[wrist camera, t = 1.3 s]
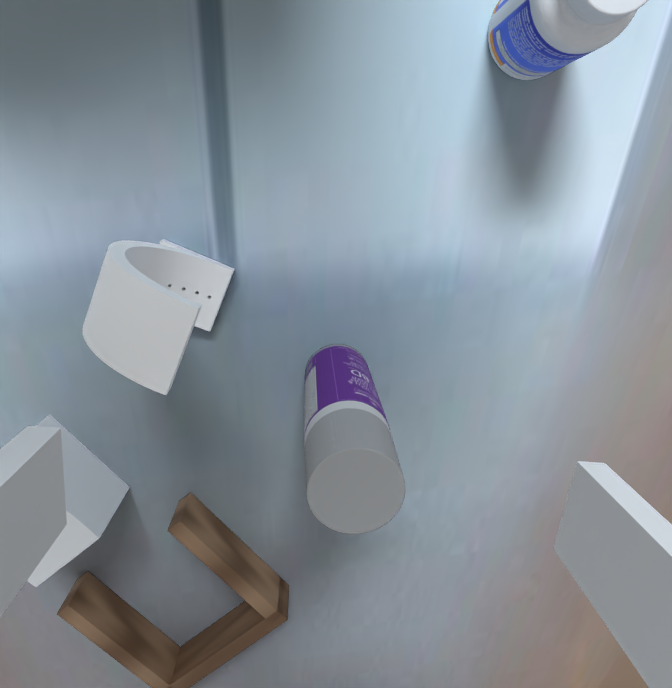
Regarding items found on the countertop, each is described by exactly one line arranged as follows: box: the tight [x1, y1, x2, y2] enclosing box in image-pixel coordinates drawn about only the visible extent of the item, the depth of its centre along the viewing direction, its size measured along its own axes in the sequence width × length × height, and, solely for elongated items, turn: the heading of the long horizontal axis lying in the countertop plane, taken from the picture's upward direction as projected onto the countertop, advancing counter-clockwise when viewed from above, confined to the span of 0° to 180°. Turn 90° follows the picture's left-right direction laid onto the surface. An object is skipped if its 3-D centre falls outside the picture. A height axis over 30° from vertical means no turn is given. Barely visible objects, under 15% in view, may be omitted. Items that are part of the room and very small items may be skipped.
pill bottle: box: [488, 0, 648, 80], centre depth 26 cm, size 5×5×10 cm
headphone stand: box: [82, 239, 235, 395], centre depth 28 cm, size 5×6×12 cm
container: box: [304, 344, 405, 534], centre depth 29 cm, size 5×5×15 cm
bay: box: [57, 493, 289, 688], centre depth 39 cm, size 12×12×4 cm
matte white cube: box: [27, 414, 130, 587], centre depth 35 cm, size 8×6×7 cm
